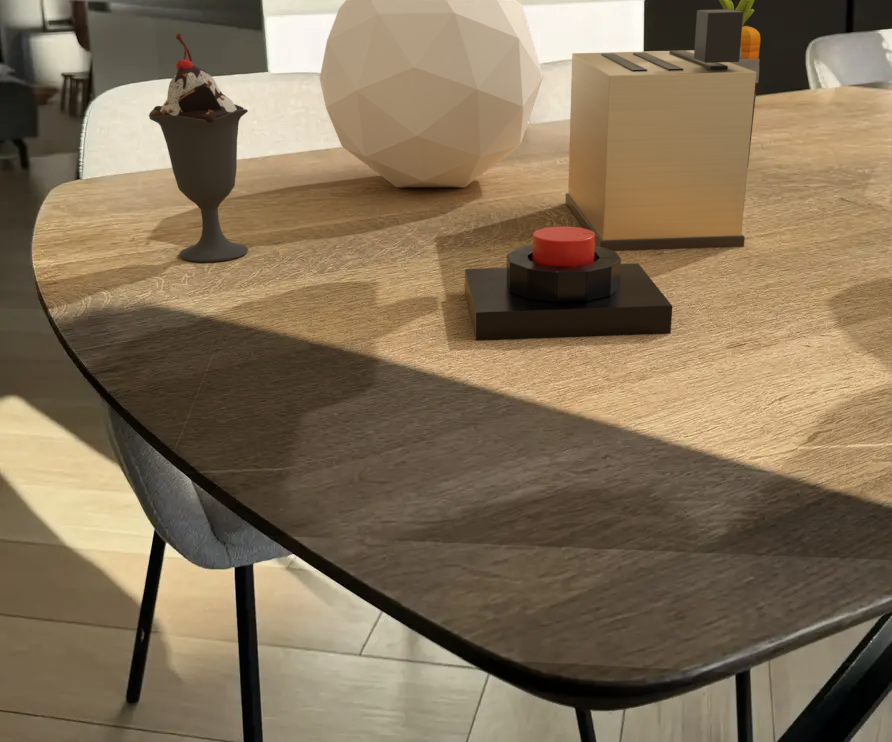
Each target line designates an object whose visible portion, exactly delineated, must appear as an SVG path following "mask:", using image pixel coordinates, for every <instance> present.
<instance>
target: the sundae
mask: <svg viewBox="0 0 892 742" xmlns="http://www.w3.org/2000/svg"><path fill="white" fill-rule="evenodd" d="M175 36H176V37H175V38H176V40H178V42H179V43H180V44H181V45H182V46H183V48H184V55H183V59H179V60H178V61H177V62H176V63H175V68H176V70H177V71H176V73H175V75H173V77H172V78H171V79H170V81H169V84H168V89H167V99H166V100H165V102H164V103H163V104H162V105H155V106H154V107H153V109H152V110H150V112H149V114H148V118H149V119H150V121H153V122H155V123H157V124H158V125H159V126H160V129H161V132H162V134H163V137H164V138H163V139H164V140H165V143H166V148H167V151H168V152H167V153H168V156H169V160H170V164H171V169H172V173H173V176H174V178H175V179H174V180H175V182H176V185H177V187H178V190H179V191H180V192H181V193H182V194H183V195H184V196H185V198H187V199H188V200H189V201H191V202H192V203H194V204H195V206H197V207H198V208H199V209H200V213H201V214H200V215H201V221H202V223H201V225H202V226H201V227H202V228H201V229H202V230H201V235H200V237H199V240H198V241H197V243H196V244H194V245H191V246H188V247H186V248H184V249H182V250H181V251H180V252H179V254H178V256H179V257H180V258H181V259H182V260H185V261H188V262H194V263H195V262H196V263H218V262H225V261H229V260H235V259H238V258H242V257H244V256H246V255H247V253H248V252H249V248H248V247H247V246H246V245H245V244H241V243H237V242H232V241H230V240H229V239H228V238H226V236H225V235H224V233H223V230H222V228H221V224H220V219H219V206H220V205H221V203H223V201H224V200H225V199H227V198H228V197H229V195H230V194H231V192H232V191H233V189H234V188H235V185H236V177H237V168H238V166H237V165H238V163H237V161H238V136H239V126H240V125H239V124H240V120H241V118H242V117H243V116H244V115H246V114H247V113H248V111H249V110H248V109H246V108H244V107H243V106H241V105H238V104H235V103H234V102H233V101H232V100H231V99H230V98H229V97H228V96H226V95H225V94H224V93H223V92H222V91H221V89H220V88H219V87H218V84H217V83H216V79H214V78H213V76H212V75H211V74H210V73H209V72H208V71H206V70H205V69H202V68H200V67H198V66H195V65H194V64H193V59H192V54H191V52H190V50H189V48H188V46H187V45H186V43H185V41H184V40H183V39H182V36H181V33H179V32H178V33H176V35H175ZM187 57H188V58H187Z"/></svg>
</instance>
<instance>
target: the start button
mask: <svg viewBox="0 0 892 742" xmlns="http://www.w3.org/2000/svg"><path fill="white" fill-rule="evenodd" d="M532 245H533V259H532V261H533V262H535V263H538V264H543V265H552V266H580V265H585V264H590V263H594V252H595V233H594V232H593V231H591V230H588V229H584V228H583V227H577V226H549V227H544V228H540V229H537V230H534V232H533V233H532Z"/></svg>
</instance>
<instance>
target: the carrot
mask: <svg viewBox="0 0 892 742" xmlns="http://www.w3.org/2000/svg"><path fill="white" fill-rule="evenodd" d="M718 2H719V4H720V5H721V7H722V10H725V9H731V10H736V11H741V12H743V23H742V35H741V47H740V48H742V52H741V59H743V58H748V59H759V57H760V56H759V55H760V47H761V33H760V32H759V31H758V30H757V29H756V28H754V27H751V26H749V25H745V23H746V22H747V21H748V20H749V18H750V17H751V16H752V15H753V14H754V12H755V10H754V9H753V8H752V7H753V4H754V3H755V0H740V1H739V3H738V5H737V6H736V8H735V7H734V3H733V1H732V0H718Z"/></svg>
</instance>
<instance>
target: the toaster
mask: <svg viewBox="0 0 892 742" xmlns="http://www.w3.org/2000/svg"><path fill="white" fill-rule="evenodd" d="M570 78H571V79H570V81H571V83H570V115H569V116H570V117H569V153H568V162H569V163H568V192H567V193H565V199H564V201H565V204H566V205H567V207H568V208H569V210H570V211H571V213H572V214H573V216H574V217H575V219H576V220H577V219H578V220H577V221H578V222H579V224H580V226H581V228H584V229H588V230H591V231H593V232H594V233H595V245H597V246H600V247H603V248H606V249H610V250H613V251H615V252H625V251H626V252H628V251H655V250H656V251H657V250H660V251H661V250H685V249H686V250H687V249H688V250H689V249H690V250H691V249H715V248H717V249H718V248H719V249H720V248H744V247H745V239H746V236H744V235H743V234H742V233H743V232H742V231H743V222H744V211H745V210H744V209H745V200H746V199H745V198H746V189H747V178H748V168H749V163H748V157H749V158H750V154H749V146H750V147H751V145H750V135H751V124H752V113H753V102H754V91H755V81H756V72H755V71H752V70H749V69H747V68H744V67H741V66H738V65H735V64H732V63H729V62H717V63H705V62H702V61H700V60H697V59H694V50H693V49H690V50H687V49H686V50H684V49H680V50H676V49H675V50H653V51H651V50H649V51H615V52H613V51H610V52H608V51H607V52H575V53H574V52H573V53H572V54H571V77H570ZM751 136H752V135H751Z"/></svg>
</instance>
